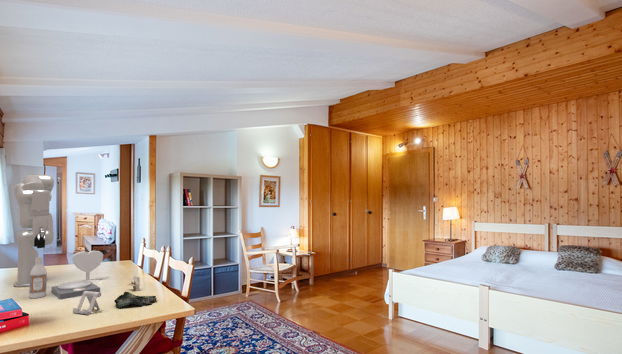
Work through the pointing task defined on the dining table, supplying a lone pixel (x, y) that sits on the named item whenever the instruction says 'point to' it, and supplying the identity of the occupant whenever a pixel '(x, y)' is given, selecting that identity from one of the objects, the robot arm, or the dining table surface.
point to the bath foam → (38, 279)
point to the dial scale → (74, 289)
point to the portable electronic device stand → (92, 301)
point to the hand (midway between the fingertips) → (39, 247)
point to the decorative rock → (133, 300)
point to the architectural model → (135, 283)
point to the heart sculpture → (88, 262)
